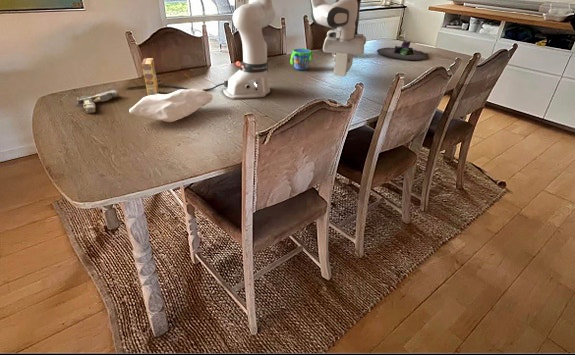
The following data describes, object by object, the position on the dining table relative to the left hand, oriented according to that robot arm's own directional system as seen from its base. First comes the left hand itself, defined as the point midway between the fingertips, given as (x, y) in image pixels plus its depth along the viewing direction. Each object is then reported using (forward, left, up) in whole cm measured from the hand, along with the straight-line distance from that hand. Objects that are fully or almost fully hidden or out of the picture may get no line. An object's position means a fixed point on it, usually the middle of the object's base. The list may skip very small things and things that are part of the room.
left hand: (341, 62), depth 184 cm
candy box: (-90, +18, -11) cm, 93 cm away
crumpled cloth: (-87, -7, -11) cm, 88 cm away
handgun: (-113, +15, -11) cm, 114 cm away
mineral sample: (+77, +38, -11) cm, 87 cm away
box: (+5, +5, -6) cm, 9 cm away
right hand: (+10, +10, +1) cm, 14 cm away
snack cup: (-6, +31, -11) cm, 34 cm away
